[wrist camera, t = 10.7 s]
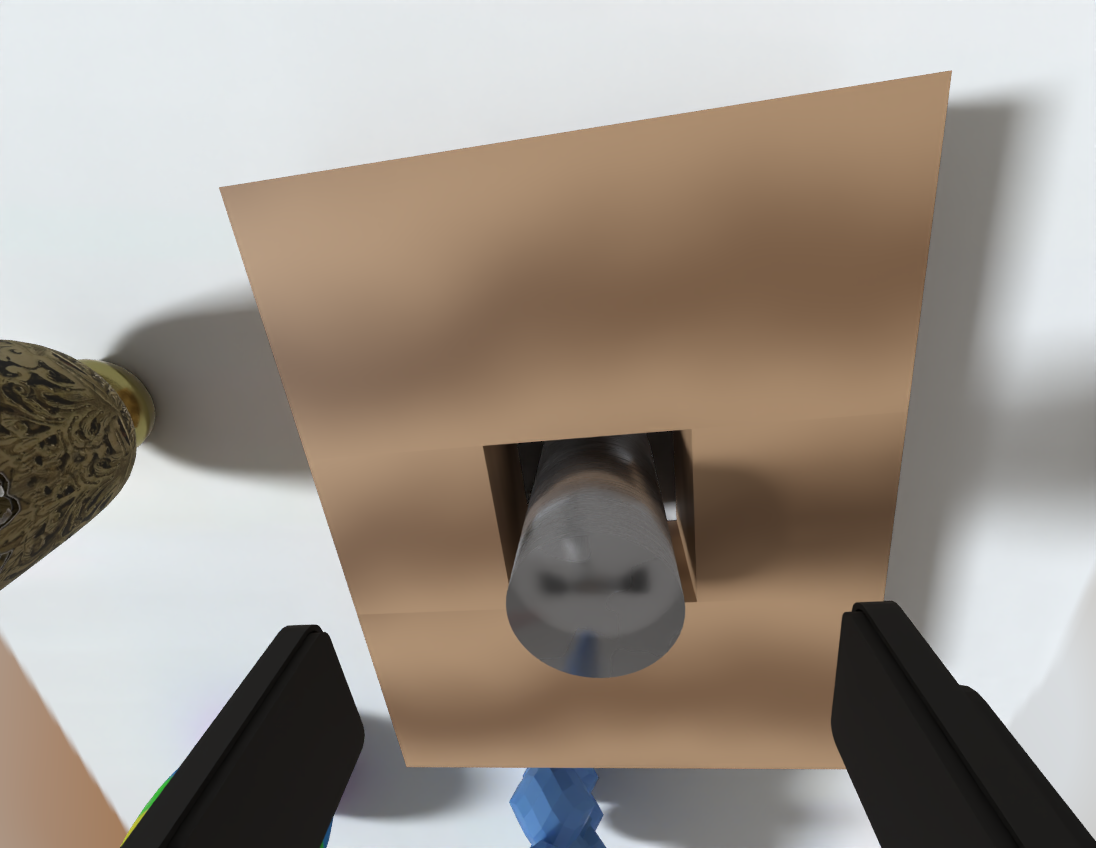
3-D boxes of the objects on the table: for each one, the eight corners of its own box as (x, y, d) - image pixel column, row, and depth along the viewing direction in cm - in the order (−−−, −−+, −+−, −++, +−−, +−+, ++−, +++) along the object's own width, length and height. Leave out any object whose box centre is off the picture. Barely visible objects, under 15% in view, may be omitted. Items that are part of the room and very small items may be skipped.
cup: (-7, 302, 19) (-394, 357, 12) (181, 301, 18) (-104, 359, 11) (67, 483, 22) (-208, 620, 14) (232, 488, 21) (32, 636, 14)
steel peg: (535, 411, 19) (492, 540, 11) (648, 401, 18) (682, 529, 11) (549, 508, 20) (519, 680, 13) (654, 501, 19) (688, 676, 12)
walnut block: (314, 194, 17) (218, 187, 12) (850, 112, 14) (951, 70, 10) (440, 670, 24) (406, 767, 20) (811, 662, 22) (861, 769, 17)
